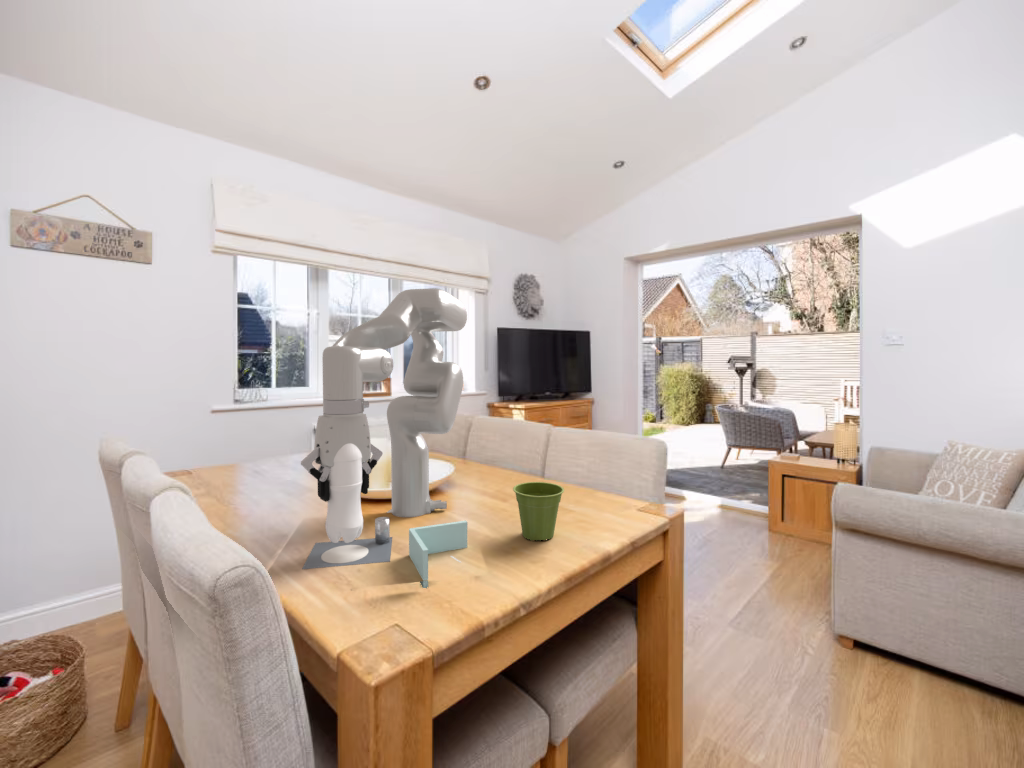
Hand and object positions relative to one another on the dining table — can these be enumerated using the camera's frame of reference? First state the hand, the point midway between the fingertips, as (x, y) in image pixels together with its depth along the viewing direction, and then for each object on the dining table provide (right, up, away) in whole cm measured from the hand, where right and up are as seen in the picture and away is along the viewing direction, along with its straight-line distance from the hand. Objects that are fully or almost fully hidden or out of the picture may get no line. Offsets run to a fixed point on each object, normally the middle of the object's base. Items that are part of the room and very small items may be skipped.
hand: (344, 495), depth 93 cm
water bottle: (0, -9, 0) cm, 9 cm away
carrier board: (+1, -13, +2) cm, 14 cm away
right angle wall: (+21, -14, -3) cm, 26 cm away
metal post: (+6, -12, +7) cm, 15 cm away
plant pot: (+40, -13, +15) cm, 45 cm away
